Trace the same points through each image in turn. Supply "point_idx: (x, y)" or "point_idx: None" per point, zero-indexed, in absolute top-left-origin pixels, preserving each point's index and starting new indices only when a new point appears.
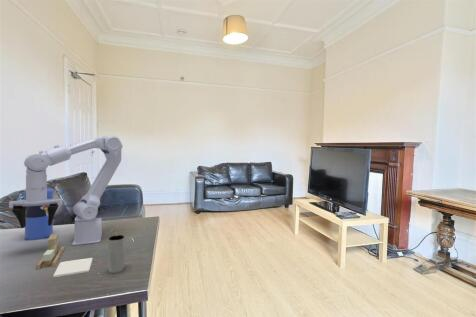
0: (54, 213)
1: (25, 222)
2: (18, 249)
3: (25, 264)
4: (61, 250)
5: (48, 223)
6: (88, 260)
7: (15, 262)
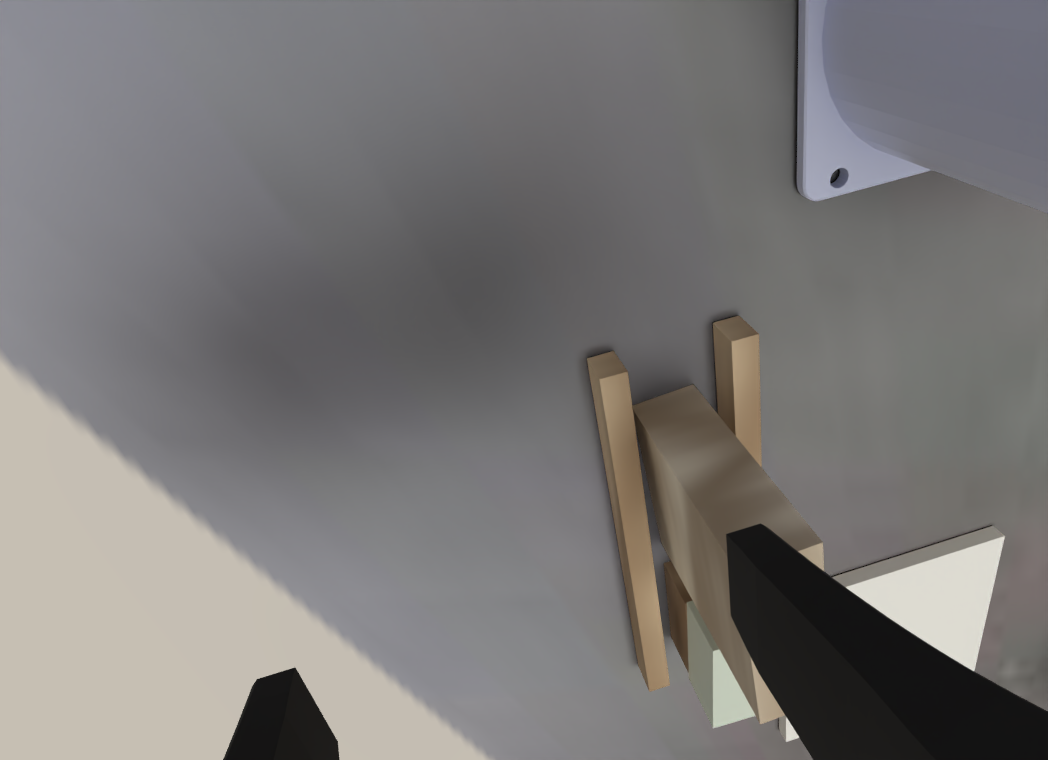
0: (970, 695)
1: (288, 742)
2: (120, 269)
3: (507, 608)
4: (756, 448)
5: (757, 658)
6: (974, 576)
7: (389, 582)
